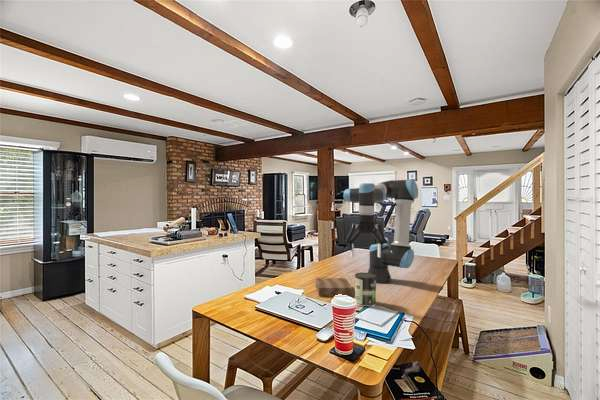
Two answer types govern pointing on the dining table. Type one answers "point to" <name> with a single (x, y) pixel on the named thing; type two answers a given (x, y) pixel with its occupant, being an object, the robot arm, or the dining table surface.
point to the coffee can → (365, 289)
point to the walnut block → (333, 286)
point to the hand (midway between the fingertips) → (365, 257)
